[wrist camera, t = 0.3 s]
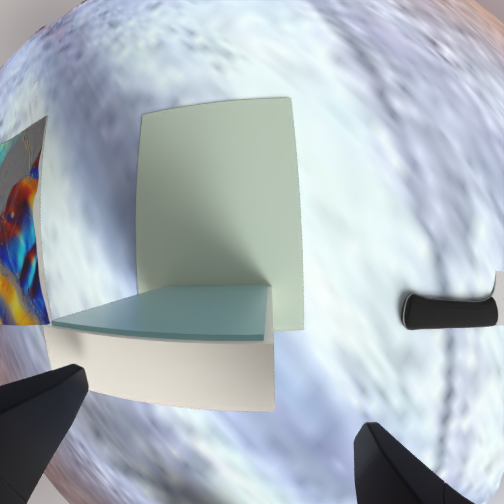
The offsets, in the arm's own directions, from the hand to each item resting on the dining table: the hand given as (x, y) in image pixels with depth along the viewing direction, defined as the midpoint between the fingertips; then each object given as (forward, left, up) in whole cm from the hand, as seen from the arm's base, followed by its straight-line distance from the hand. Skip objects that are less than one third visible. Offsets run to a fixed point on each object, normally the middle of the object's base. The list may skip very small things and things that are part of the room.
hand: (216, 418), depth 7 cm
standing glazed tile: (-1, +3, -15) cm, 15 cm away
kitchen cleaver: (+20, -21, -16) cm, 33 cm away
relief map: (-15, +29, -16) cm, 36 cm away
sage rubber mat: (+4, +8, -15) cm, 18 cm away
